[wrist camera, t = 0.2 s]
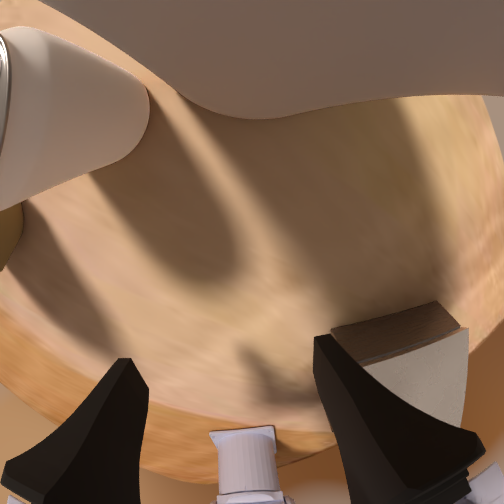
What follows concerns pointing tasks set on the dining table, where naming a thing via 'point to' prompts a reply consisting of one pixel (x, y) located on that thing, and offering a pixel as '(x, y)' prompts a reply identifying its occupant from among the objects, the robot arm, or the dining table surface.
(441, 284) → the dining table surface
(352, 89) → the cylinder vase
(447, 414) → the lid
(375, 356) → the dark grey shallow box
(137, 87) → the can
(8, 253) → the squeeze bottle
